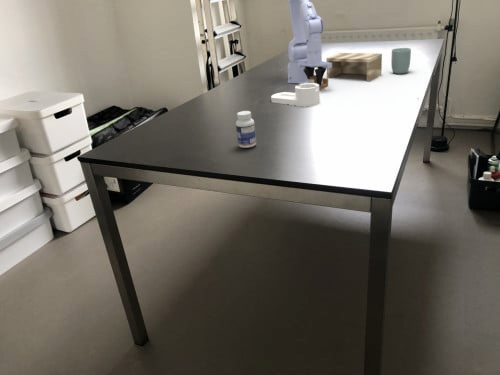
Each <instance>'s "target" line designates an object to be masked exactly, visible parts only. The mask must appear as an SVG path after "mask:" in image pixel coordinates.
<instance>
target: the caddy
mask: <svg viewBox="0 0 500 375" xmlns="http://www.w3.org/2000/svg"><path fill="white" fill-rule="evenodd" d="M307 83H316V84H317V78H316V74H314V75H313V76H310V79H308V80H307ZM327 87H329V78H327V77H326V78H324V77H323V79H322V83H321V86H319V90H320V91H322V90H324V89H326V88H327ZM321 89H322V90H321Z"/></svg>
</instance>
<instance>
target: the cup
mask: <svg viewBox="0 0 500 375" xmlns="http://www.w3.org/2000/svg"><path fill="white" fill-rule="evenodd" d="M411 52H412V49H411V48H410V47H397V48H393V49H391V59H390V60H391V65H390V66H391V70H392V72H393V73H394V74H396V75H403V74H406V73H408V71H409V69H410V65H411V55H412V53H411Z"/></svg>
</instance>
